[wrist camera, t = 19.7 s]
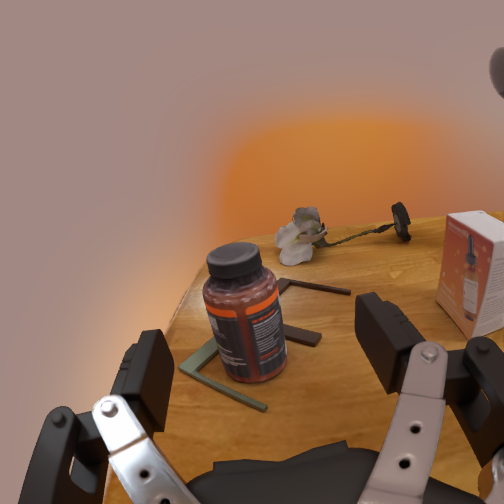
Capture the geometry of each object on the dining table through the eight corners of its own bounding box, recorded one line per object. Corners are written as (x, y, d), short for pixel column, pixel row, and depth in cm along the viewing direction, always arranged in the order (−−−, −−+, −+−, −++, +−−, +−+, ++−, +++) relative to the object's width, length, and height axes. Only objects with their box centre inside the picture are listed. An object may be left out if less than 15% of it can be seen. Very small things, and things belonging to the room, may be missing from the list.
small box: (434, 301, 29) (444, 212, 25) (469, 292, 29) (481, 208, 25) (469, 343, 22) (493, 241, 18) (505, 328, 21) (529, 234, 17)
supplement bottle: (295, 346, 27) (284, 236, 23) (275, 392, 23) (254, 272, 18) (240, 338, 30) (217, 236, 26) (213, 378, 25) (177, 267, 21)
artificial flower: (418, 256, 42) (421, 203, 36) (282, 286, 46) (266, 236, 40) (399, 225, 49) (398, 175, 43) (280, 250, 53) (265, 203, 47)
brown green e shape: (280, 280, 40) (280, 277, 40) (351, 293, 34) (351, 289, 34) (178, 369, 27) (177, 366, 26) (264, 412, 21) (263, 409, 21)
